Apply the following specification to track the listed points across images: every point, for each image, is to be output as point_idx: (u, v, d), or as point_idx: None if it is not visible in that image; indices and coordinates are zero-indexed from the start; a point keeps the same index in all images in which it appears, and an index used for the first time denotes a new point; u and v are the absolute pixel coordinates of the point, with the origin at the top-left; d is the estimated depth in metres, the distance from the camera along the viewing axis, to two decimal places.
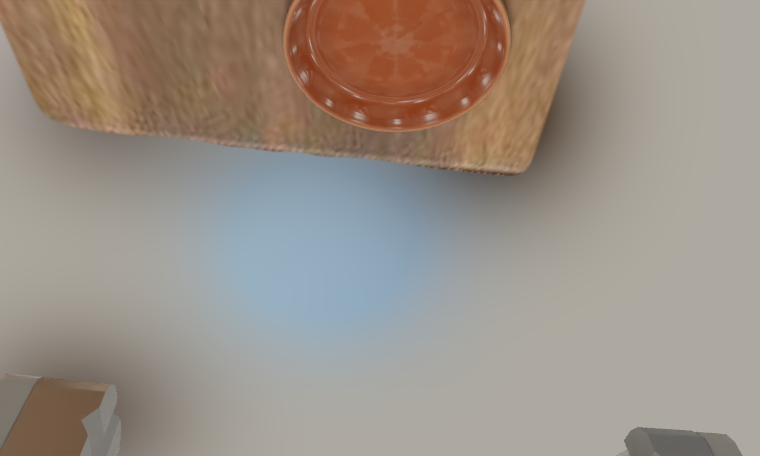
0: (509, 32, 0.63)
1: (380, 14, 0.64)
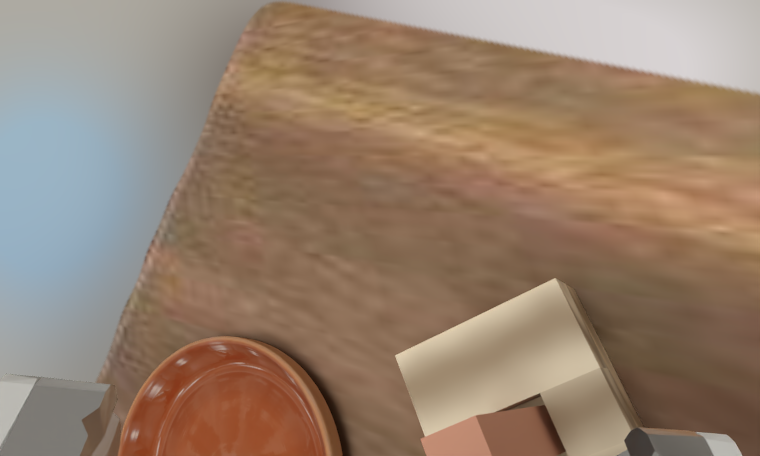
0: None
1: None
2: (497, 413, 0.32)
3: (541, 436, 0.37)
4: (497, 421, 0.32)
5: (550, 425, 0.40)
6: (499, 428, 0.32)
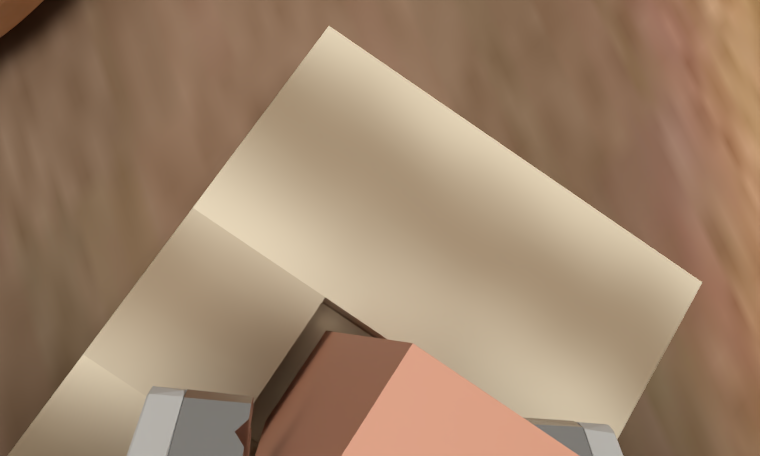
0: None
1: None
2: None
3: None
4: None
5: None
6: None
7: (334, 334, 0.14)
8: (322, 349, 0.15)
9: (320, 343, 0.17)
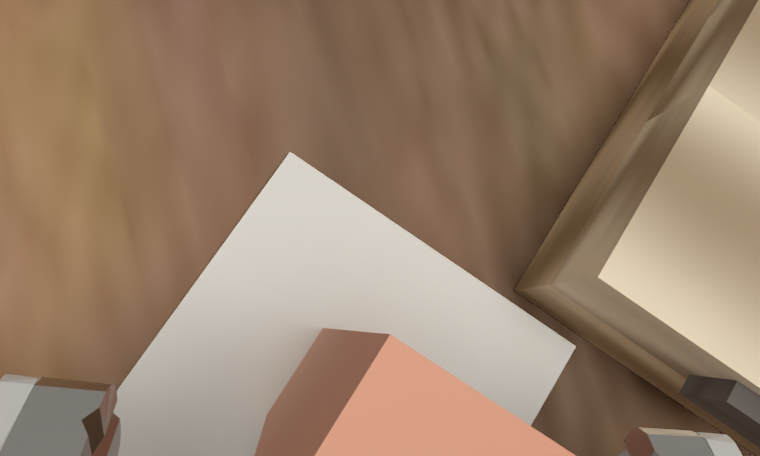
0: None
1: None
2: None
3: None
4: None
5: None
6: None
7: (330, 330, 0.15)
8: (319, 345, 0.16)
9: (317, 340, 0.18)
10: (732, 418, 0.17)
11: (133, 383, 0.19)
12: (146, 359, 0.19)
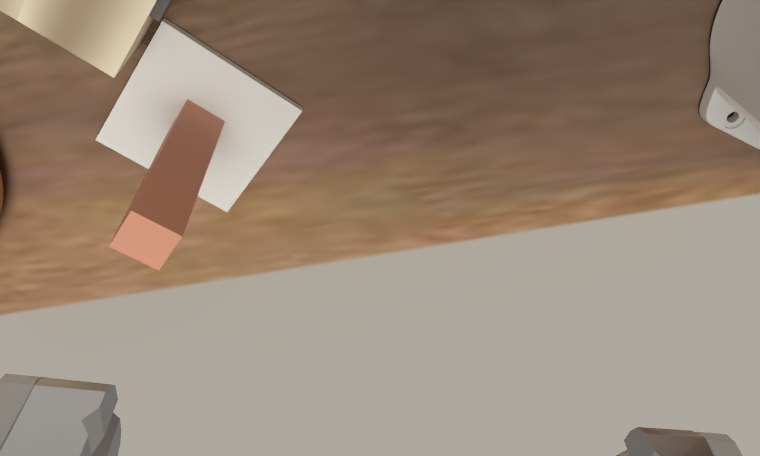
0: None
1: None
2: (148, 179, 0.37)
3: (196, 143, 0.43)
4: (152, 187, 0.37)
5: (199, 117, 0.45)
6: (157, 191, 0.37)
7: None
8: None
9: None
10: (170, 2, 0.38)
11: (198, 193, 0.51)
12: None
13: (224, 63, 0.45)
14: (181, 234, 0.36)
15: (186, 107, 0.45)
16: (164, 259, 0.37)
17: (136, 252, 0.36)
